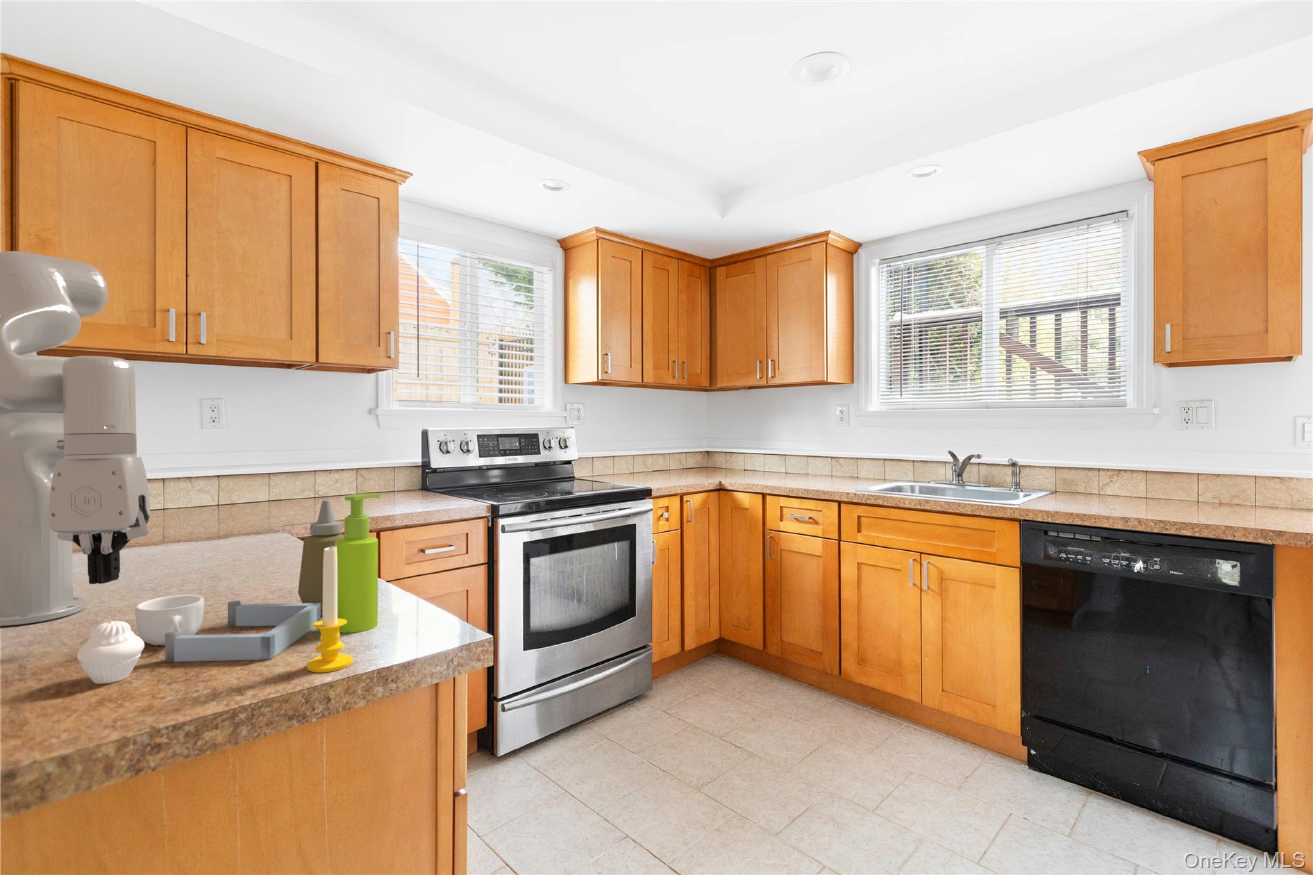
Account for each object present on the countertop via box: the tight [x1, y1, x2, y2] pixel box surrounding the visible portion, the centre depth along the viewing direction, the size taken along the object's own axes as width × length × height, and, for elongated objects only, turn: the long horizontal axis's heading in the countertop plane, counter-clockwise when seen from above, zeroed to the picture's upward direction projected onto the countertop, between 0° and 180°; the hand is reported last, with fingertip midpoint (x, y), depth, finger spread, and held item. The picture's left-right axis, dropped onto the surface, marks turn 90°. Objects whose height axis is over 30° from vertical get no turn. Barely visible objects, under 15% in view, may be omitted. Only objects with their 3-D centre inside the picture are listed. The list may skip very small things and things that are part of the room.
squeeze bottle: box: [297, 499, 344, 616], centre depth 104 cm, size 8×8×18 cm
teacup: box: [134, 594, 205, 646], centre depth 89 cm, size 10×8×5 cm
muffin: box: [76, 620, 145, 685], centre depth 76 cm, size 6×6×7 cm
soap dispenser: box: [335, 492, 381, 634], centre depth 97 cm, size 6×7×20 cm
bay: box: [164, 600, 322, 663], centre depth 90 cm, size 13×16×4 cm
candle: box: [306, 543, 354, 674], centre depth 82 cm, size 5×5×16 cm
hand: (104, 581), depth 88 cm, fingers closed
